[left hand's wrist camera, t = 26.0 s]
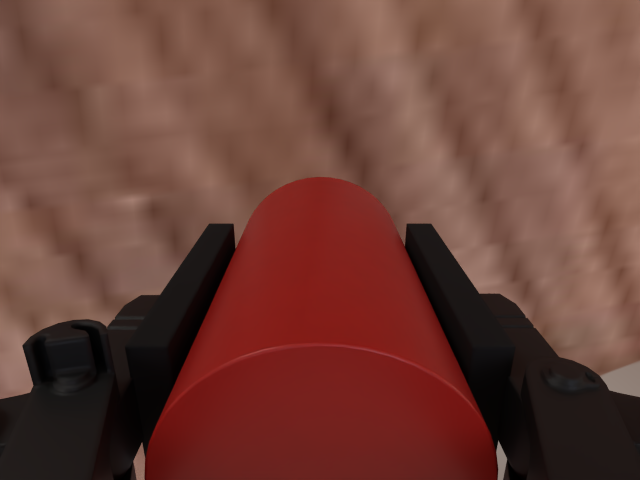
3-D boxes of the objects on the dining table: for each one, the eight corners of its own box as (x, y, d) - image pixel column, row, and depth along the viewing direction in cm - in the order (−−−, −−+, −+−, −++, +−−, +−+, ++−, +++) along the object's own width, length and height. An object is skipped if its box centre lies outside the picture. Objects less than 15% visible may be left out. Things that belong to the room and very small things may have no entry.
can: (429, 263, 16) (564, 511, 7) (310, 346, 17) (299, 643, 8) (333, 142, 14) (353, 267, 6) (209, 242, 15) (68, 473, 7)
